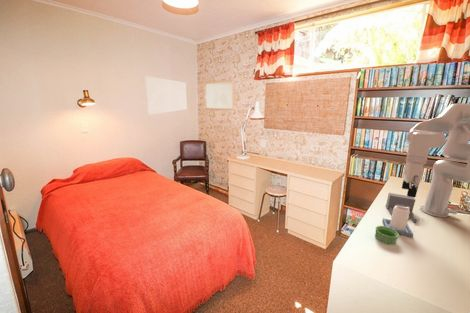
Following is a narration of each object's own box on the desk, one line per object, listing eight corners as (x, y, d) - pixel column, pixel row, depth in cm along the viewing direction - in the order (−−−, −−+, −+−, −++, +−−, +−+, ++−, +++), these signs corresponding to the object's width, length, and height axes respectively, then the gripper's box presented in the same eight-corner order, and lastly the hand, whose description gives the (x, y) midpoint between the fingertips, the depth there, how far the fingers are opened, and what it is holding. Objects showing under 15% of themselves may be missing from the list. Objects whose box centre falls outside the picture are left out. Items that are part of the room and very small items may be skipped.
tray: (406, 226, 115) (407, 223, 115) (412, 237, 106) (413, 234, 105) (382, 221, 119) (383, 218, 119) (386, 231, 110) (387, 228, 109)
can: (407, 232, 109) (413, 210, 106) (393, 230, 110) (398, 208, 107) (400, 225, 115) (406, 204, 112) (387, 224, 116) (392, 202, 113)
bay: (409, 210, 133) (413, 196, 131) (418, 223, 119) (422, 208, 116) (385, 206, 138) (388, 192, 135) (391, 218, 123) (394, 203, 121)
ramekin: (369, 236, 106) (371, 227, 105) (382, 232, 110) (384, 224, 108) (388, 247, 98) (390, 238, 97) (401, 243, 102) (403, 234, 100)
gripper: (402, 153, 114) (394, 185, 118) (412, 162, 98) (403, 198, 103) (420, 155, 111) (412, 187, 115) (433, 165, 95) (423, 201, 100)
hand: (408, 192), depth 109 cm, fingers open, 9 cm apart
